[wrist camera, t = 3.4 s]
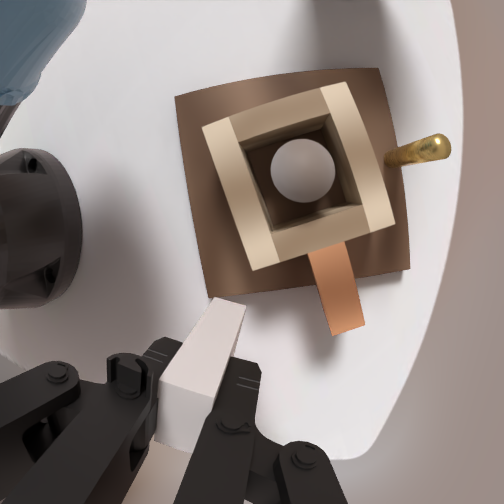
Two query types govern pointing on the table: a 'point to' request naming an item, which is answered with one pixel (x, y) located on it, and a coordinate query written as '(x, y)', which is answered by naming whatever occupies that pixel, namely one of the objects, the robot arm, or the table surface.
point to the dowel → (419, 151)
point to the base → (281, 210)
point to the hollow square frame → (318, 223)
